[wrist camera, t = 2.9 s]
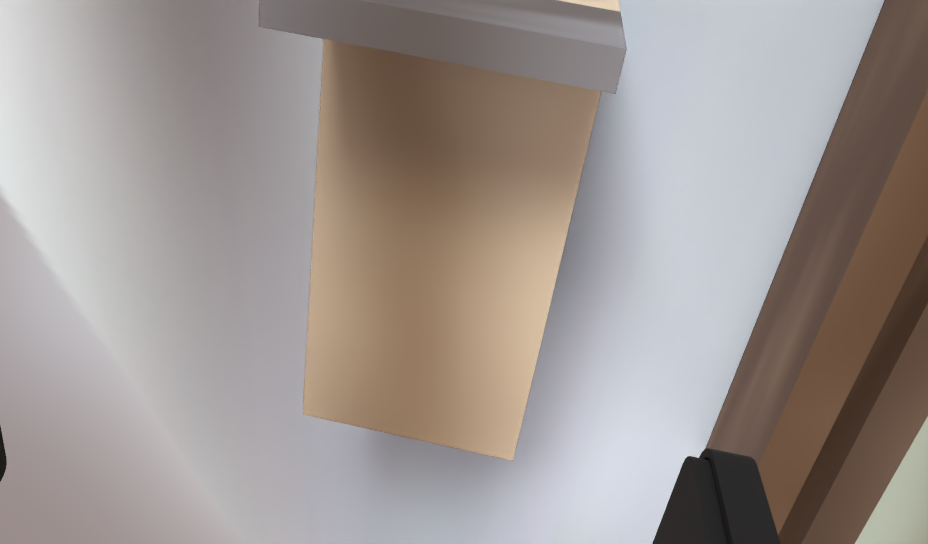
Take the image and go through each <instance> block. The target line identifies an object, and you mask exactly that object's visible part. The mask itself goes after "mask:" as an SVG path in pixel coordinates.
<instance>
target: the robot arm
mask: <svg viewBox="0 0 928 544" xmlns="http://www.w3.org/2000/svg"><path fill="white" fill-rule="evenodd" d="M5 469H6V454H5V449H4V443H3V438H2V432H1V427H0V481H1V479H2V477H3V475H4V472H5ZM653 544H781V543H780V540H779V537H778V533H777V530H776V527H775V523H774V520H773V517H772V513H771V510H770V506H769V503H768V500H767V496H766V493H765V490H764V486H763V483H762V480H761V476H760V473H759V470H758V466H757V464H756V462H755V460H754V459H753V458H752V457H749V456H744V455H739V454H734V453H729V452H725V451H720V450H715V449H710V448H707V449H705V450H704V451H703V452H702V453H701V455H700V457H699V458H696V457H691V456H688V457H687V458H686V459H685V461H684V463H683V465H682V468H681V470H680V473H679V475H678V478H677V481H676V483H675V486H674V489H673V491H672V494H671V496H670V499H669V502H668V504H667V507H666V510H665V512H664V515H663V517H662V520H661V523H660V525H659V528H658V531H657V533H656V536H655V538H654V541H653Z"/></svg>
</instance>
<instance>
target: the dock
mask: <svg viewBox="0 0 928 544" xmlns="http://www.w3.org/2000/svg"><path fill="white" fill-rule="evenodd" d="M707 448H710V449H715V450H720V451H725V452H729V453H734V454H739V455H744V456H749V457H752V458H753V459H754V460H755V462H756V464H757V466H758V470H759V473H760V476H761V480H762V483H763V486H764V490H765V493H766V496H767V500H768V503H769V506H770V510H771V513H772V517H773V520H774V523H775V527H776V530H777V533H778V537H779V540H780V543H781V544H928V0H885V2H884V4H883V7H882V9H881V12H880V14H879V17H878V19H877V22H876V24H875V27H874V29H873V32H872V34H871V37H870V39H869V42H868V44H867V47H866V49H865V52H864V54H863V57H862V59H861V62H860V64H859V67H858V69H857V72H856V74H855V77H854V79H853V82H852V84H851V87H850V89H849V92H848V94H847V97H846V99H845V102H844V104H843V107H842V109H841V112H840V114H839V117H838V119H837V122H836V124H835V127H834V129H833V132H832V134H831V137H830V139H829V142H828V144H827V147H826V149H825V152H824V154H823V157H822V159H821V162H820V164H819V167H818V169H817V172H816V174H815V177H814V179H813V182H812V184H811V187H810V189H809V192H808V194H807V197H806V199H805V202H804V204H803V207H802V209H801V212H800V214H799V217H798V219H797V222H796V224H795V227H794V229H793V232H792V234H791V237H790V239H789V242H788V244H787V247H786V249H785V252H784V254H783V257H782V259H781V262H780V264H779V267H778V269H777V272H776V274H775V277H774V279H773V282H772V284H771V287H770V289H769V292H768V294H767V297H766V299H765V302H764V304H763V307H762V309H761V312H760V314H759V317H758V319H757V322H756V324H755V327H754V329H753V332H752V334H751V337H750V339H749V342H748V344H747V347H746V349H745V352H744V354H743V357H742V359H741V362H740V364H739V367H738V369H737V372H736V374H735V377H734V379H733V382H732V384H731V387H730V389H729V392H728V394H727V397H726V399H725V402H724V404H723V407H722V409H721V412H720V414H719V417H718V419H717V422H716V424H715V427H714V429H713V432H712V434H711V437H710V439H709V442H708V444H707V447H706V449H707Z"/></svg>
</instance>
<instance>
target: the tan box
mask: <svg viewBox="0 0 928 544" xmlns="http://www.w3.org/2000/svg"><path fill="white" fill-rule="evenodd" d="M259 27H263V28H269V29H274V30H279V31H285V32H290V33H295V34H301V35H306V36H311V37H317V38H322V39H324V45H323V63H322V80H321V98H320V116H319V134H318V151H317V169H316V187H315V204H314V222H313V240H312V258H311V275H310V293H309V311H308V329H307V346H306V364H305V382H304V399H303V414H304V415H308V416H313V417H317V418H322V419H326V420H331V421H335V422H340V423H344V424H349V425H353V426H358V427H362V428H367V429H371V430H376V431H381V432H385V433H390V434H394V435H399V436H403V437H408V438H412V439H417V440H421V441H426V442H430V443H435V444H439V445H444V446H448V447H453V448H457V449H462V450H466V451H471V452H475V453H480V454H484V455H489V456H493V457H498V458H502V459H507V460H511V461H513V459H514V454H515V450H516V446H517V442H518V438H519V434H520V429H521V425H522V421H523V417H524V413H525V408H526V404H527V400H528V396H529V392H530V387H531V383H532V379H533V375H534V371H535V367H536V362H537V358H538V354H539V350H540V346H541V341H542V337H543V333H544V329H545V325H546V321H547V316H548V312H549V308H550V304H551V300H552V295H553V291H554V287H555V283H556V279H557V274H558V270H559V266H560V262H561V258H562V254H563V249H564V245H565V241H566V237H567V233H568V228H569V224H570V220H571V216H572V212H573V208H574V203H575V199H576V195H577V191H578V187H579V182H580V178H581V174H582V170H583V166H584V162H585V157H586V153H587V149H588V145H589V141H590V136H591V132H592V128H593V124H594V120H595V115H596V111H597V107H598V103H599V99H600V95H601V91H603V92H609V93H614V94H616V90H617V85H618V81H619V77H620V73H621V69H622V65H623V61H624V57H625V53H626V43H625V37H624V31H623V25H622V19H621V13H620V7H619V1H618V0H259Z"/></svg>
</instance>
